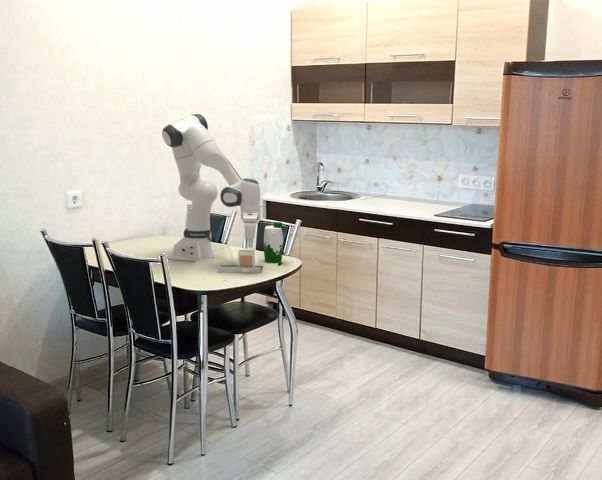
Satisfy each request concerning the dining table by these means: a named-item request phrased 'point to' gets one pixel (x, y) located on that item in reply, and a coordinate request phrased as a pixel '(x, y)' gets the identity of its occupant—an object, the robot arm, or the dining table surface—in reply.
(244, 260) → the carton
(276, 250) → the milk carton
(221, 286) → the dining table surface
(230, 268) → the rail
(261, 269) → the shelf board
